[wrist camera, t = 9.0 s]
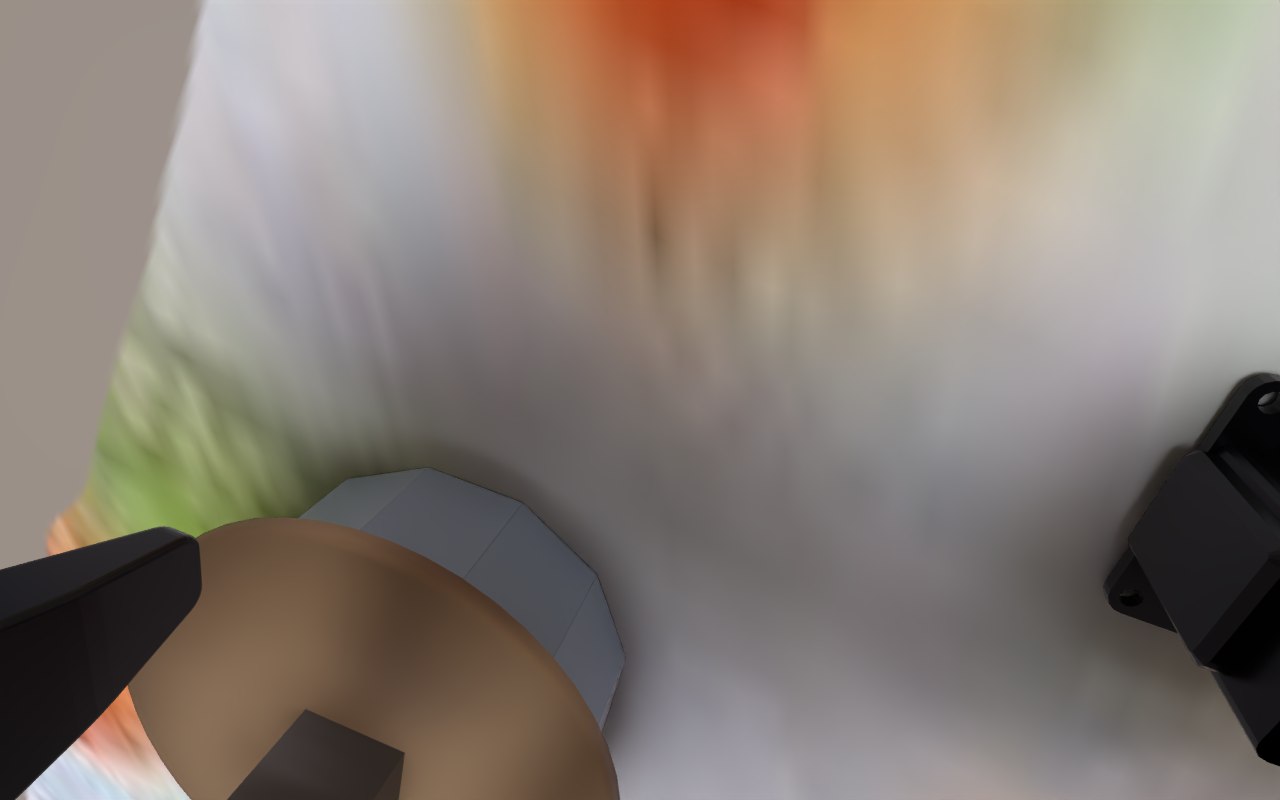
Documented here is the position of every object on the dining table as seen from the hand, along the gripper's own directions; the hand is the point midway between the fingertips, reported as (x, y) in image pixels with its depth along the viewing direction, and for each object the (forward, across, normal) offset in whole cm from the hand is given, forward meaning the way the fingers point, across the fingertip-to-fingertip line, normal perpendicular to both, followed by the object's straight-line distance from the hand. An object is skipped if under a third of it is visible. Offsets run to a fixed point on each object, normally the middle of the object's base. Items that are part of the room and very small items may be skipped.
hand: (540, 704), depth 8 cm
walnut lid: (+7, +6, +13) cm, 16 cm away
